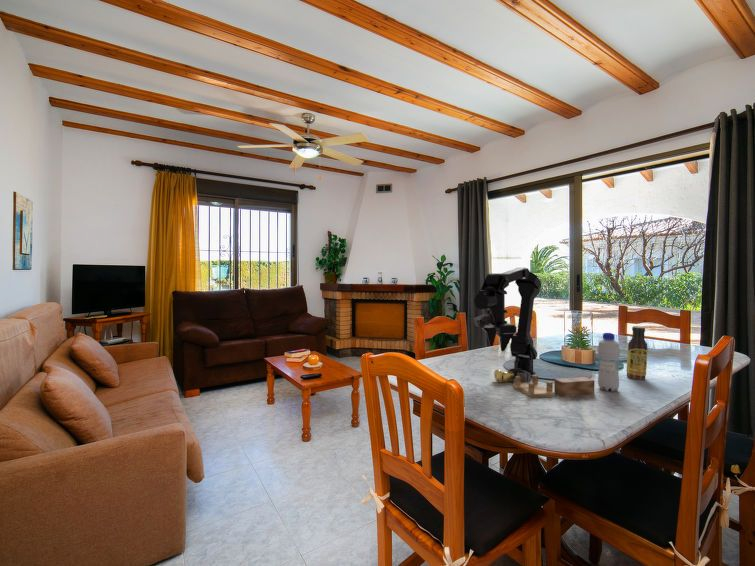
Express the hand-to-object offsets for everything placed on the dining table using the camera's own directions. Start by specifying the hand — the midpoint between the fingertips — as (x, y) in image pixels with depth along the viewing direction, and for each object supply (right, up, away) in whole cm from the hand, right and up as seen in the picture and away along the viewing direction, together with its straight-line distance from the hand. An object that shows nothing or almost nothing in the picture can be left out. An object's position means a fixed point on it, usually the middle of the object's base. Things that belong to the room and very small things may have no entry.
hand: (496, 348), depth 138 cm
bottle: (+36, -13, -9) cm, 40 cm away
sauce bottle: (+55, -12, +4) cm, 57 cm away
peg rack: (+10, -13, -10) cm, 19 cm away
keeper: (+9, -13, +2) cm, 16 cm away
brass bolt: (+4, -13, +1) cm, 14 cm away
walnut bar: (+22, -13, -13) cm, 29 cm away
